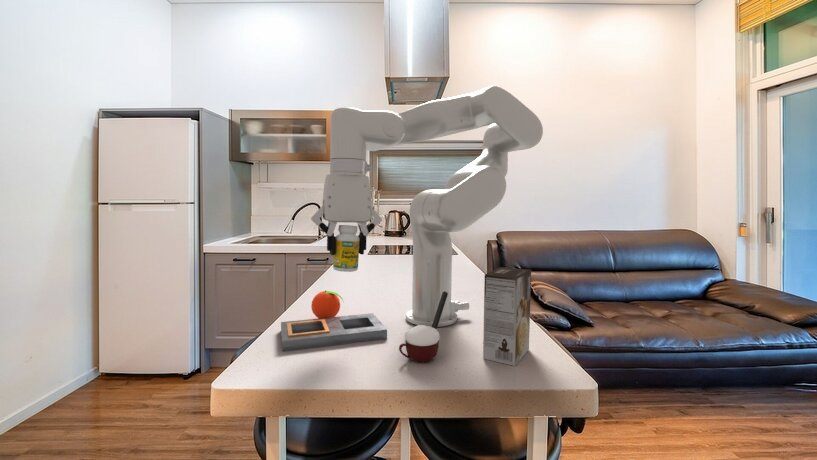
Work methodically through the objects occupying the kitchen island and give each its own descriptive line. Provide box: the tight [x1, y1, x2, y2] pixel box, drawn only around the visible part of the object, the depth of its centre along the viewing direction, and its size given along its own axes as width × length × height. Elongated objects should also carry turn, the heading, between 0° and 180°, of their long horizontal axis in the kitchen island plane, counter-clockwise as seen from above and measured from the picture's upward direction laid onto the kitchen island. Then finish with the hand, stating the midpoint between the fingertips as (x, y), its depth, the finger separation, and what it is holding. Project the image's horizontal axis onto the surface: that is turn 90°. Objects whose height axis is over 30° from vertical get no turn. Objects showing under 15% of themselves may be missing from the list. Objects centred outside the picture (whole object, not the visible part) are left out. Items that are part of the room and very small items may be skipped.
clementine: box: [310, 290, 344, 319], centre depth 93 cm, size 8×7×7 cm
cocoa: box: [398, 291, 448, 364], centre depth 70 cm, size 10×6×12 cm, turn 91°
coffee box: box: [482, 266, 533, 367], centre depth 72 cm, size 9×6×16 cm
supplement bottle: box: [332, 224, 360, 273], centre depth 82 cm, size 5×5×10 cm
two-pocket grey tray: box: [280, 312, 388, 352], centre depth 82 cm, size 21×12×2 cm, turn 110°
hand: (346, 253), depth 82 cm, fingers closed on supplement bottle, 5 cm apart
